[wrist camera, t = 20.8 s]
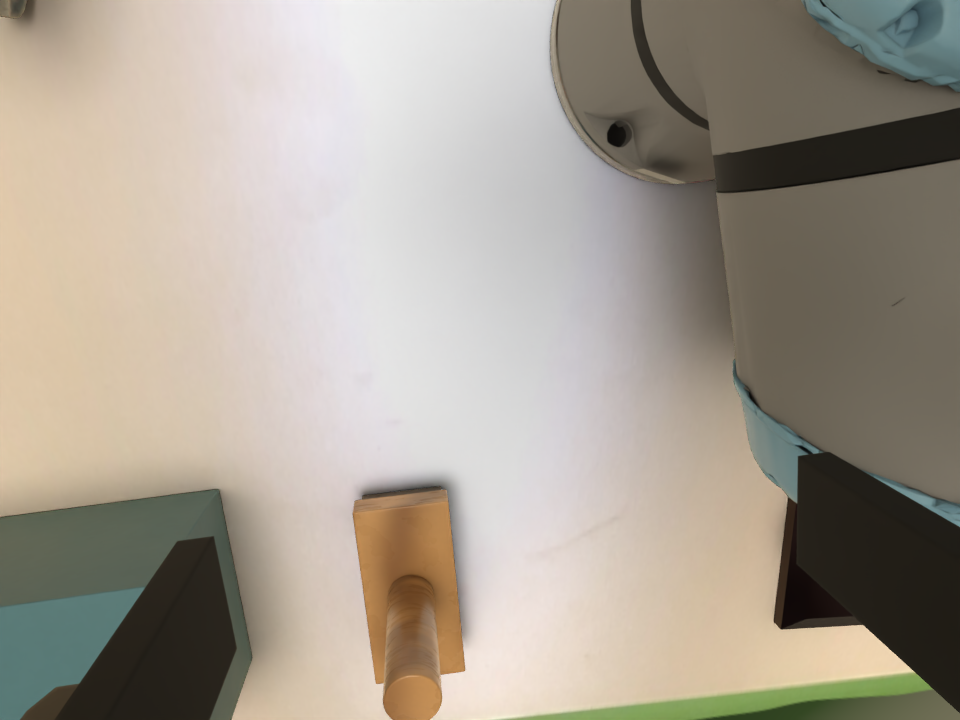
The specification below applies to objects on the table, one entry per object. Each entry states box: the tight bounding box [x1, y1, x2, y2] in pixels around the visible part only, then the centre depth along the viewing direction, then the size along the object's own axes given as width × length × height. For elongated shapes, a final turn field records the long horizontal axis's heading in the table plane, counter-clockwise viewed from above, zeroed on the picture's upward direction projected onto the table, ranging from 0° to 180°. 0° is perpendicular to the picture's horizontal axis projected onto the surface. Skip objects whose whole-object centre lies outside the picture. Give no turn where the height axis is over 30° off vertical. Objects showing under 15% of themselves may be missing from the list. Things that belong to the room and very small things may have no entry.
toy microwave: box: [0, 489, 252, 720], centre depth 37 cm, size 18×13×11 cm
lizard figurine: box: [774, 498, 863, 629], centre depth 44 cm, size 15×20×7 cm
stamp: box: [353, 486, 465, 720], centre depth 38 cm, size 6×12×12 cm, turn 5°
